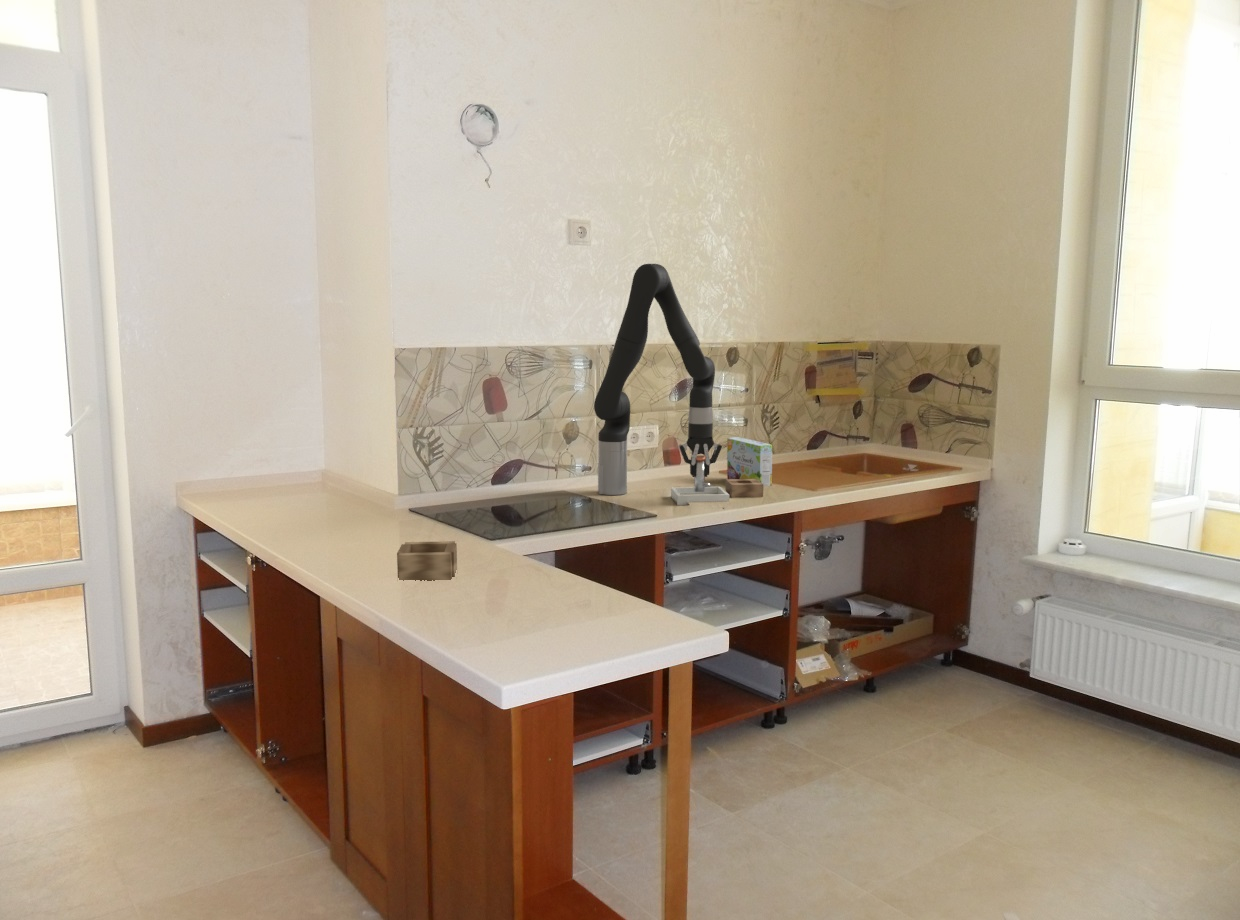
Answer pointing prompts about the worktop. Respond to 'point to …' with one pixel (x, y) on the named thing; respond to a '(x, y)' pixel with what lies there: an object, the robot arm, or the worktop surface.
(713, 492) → the tray
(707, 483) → the pulley
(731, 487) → the wooden box
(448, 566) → the box
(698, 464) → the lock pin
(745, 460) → the snack box
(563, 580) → the worktop surface
